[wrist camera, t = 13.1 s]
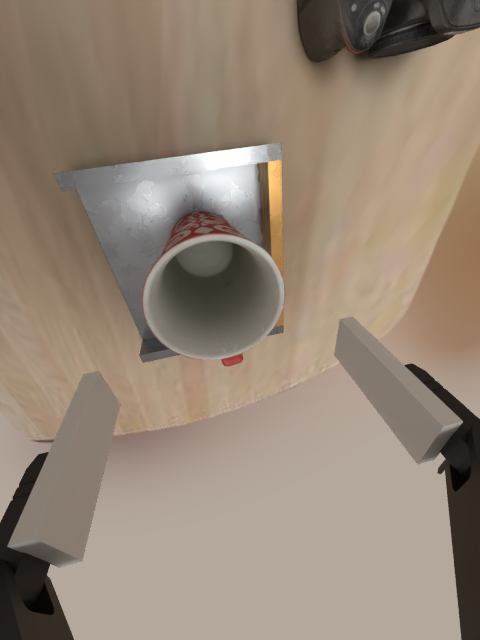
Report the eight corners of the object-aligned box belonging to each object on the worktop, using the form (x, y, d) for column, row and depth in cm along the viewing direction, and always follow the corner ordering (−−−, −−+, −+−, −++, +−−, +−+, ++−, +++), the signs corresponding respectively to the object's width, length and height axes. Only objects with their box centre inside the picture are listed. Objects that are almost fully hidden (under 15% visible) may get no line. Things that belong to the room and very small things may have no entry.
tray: (72, 171, 22) (53, 173, 18) (267, 144, 23) (281, 142, 20) (146, 342, 33) (142, 362, 30) (273, 316, 35) (283, 332, 31)
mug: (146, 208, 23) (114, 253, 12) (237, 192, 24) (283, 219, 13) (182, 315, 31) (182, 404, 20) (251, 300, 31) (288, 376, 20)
